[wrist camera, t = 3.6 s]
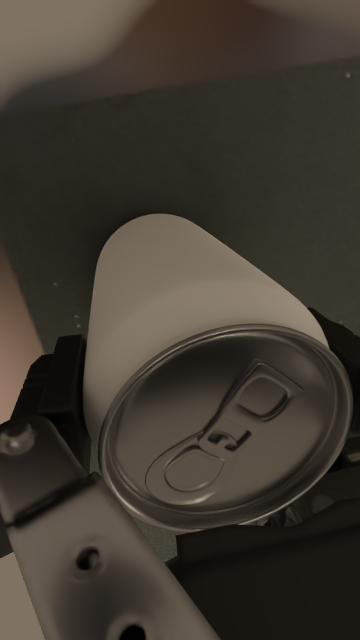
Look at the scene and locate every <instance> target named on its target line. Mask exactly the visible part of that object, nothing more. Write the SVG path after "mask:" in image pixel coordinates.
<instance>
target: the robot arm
mask: <svg viewBox="0 0 360 640" xmlns="http://www.w3.org/2000/svg"><path fill="white" fill-rule="evenodd" d="M307 309H308V310H309V311H310V313H311V314H312V315H313V316H314V317H315V319H316V320H317V322H318V323H319V325H320V327H321V329H322V331H323V333H324V335H325V338H326V340H327V343H328V346H329V349H330V350H331V351H332V352H333V353H334V354H335V355H336V357H337V358H338V359H339V360H340V362H341V363H342V365H343V366H344V368H345V370H346V372H347V374H348V376H349V379H350V382H351V385H352V389H353V396H354V413H353V420H352V425H351V428H350V432H349V435H348V437H347V438H352V437H357V436H360V337H358V336H357V335H354V333H353V332H351V331H350V330H349V329H347V328H346V327H344V326H343V325H340V324H338V323H335V322H332V321H330V320H328V319H327V318H325V317H324V316H323V315H321V314H320V313H319V312H317V311H316V310H314V309H313V308H307ZM86 347H87V343H86V338H85V335H84V334H80V335H71V336H63V337H58V340H57V344H56V347H55V350H54V354H47V355H42V356H41V357H39V358H38V359H37V360H36V361H35V362H34V363H33V364H32V365H31V366H30V369H29V371H28V374H27V379H25V382H24V384H23V389H21V392H20V395H19V397H18V400H17V402H16V405H15V408H14V410H13V413H12V415H11V418H10V420H8V421H7V422H4V423H2V424H1V425H0V558H2V557H4V556H6V555H8V554H10V553H12V552H14V554H15V556H16V559H17V562H18V564H19V568H20V571H21V573H22V576H23V579H24V582H25V584H26V587H27V590H28V593H29V596H30V598H31V601H32V604H33V607H34V609H35V612H36V615H37V618H38V621H39V623H40V626H41V629H42V632H43V635H44V638H45V640H360V497H356V498H351V499H346V500H342V501H337V502H335V503H333V504H331V505H330V506H328V507H326V508H324V509H323V510H321V511H319V512H317V513H316V514H314V515H312V516H310V517H309V518H307V519H305V520H303V521H302V522H300V523H298V524H296V525H294V526H290V527H282V526H261V525H239V524H229V525H224V526H220V527H215V528H210V529H206V530H201V531H196V532H191V533H187V534H182V535H177V536H176V541H177V555H178V556H176V557H174V558H172V559H170V560H169V561H167V562H165V563H164V561H163V560H162V559H161V557H160V556H159V555H158V553H157V552H156V551H155V549H154V548H153V546H152V545H151V544H150V542H149V541H148V540H147V538H146V537H145V536H144V534H143V533H142V531H141V530H140V529H139V527H138V526H137V525H136V523H135V522H134V521H133V519H132V518H131V516H130V515H129V514H128V512H127V511H126V510H125V508H124V507H123V506H122V504H121V503H120V501H119V500H118V499H117V497H116V496H115V495H114V493H113V492H112V491H111V489H110V488H109V486H108V485H107V484H106V482H105V481H104V480H103V478H102V477H101V476H100V475H99V474H98V473H97V472H93V473H91V474H89V471H90V455H91V438H90V435H89V433H88V430H87V427H86V424H85V419H84V413H83V399H82V393H83V376H84V366H85V356H86Z"/></svg>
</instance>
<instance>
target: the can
mask: <svg viewBox="0 0 360 640" xmlns="http://www.w3.org/2000/svg"><path fill="white" fill-rule="evenodd" d="M82 399H83V413H84V419H85V424H86V427H87V430H88V433H89V435H90V438H91V440H92V442H93V444H94V446H95V448H96V449H97V451H98V463H99V468H100V472H101V476H102V478H103V480H104V481H105V482H106V484H107V485H108V486H109V488H110V489H111V491H112V492H113V493H114V495H115V496H116V497H117V499H118V500H119V501H120V503H121V504H122V506H123V507H124V508H125V510H126V511H127V512H129V513H130V514H131V515H133V516H135V517H136V518H138V519H140V520H142V521H144V522H146V523H148V524H151V525H154V526H157V527H160V528H164V529H168V530H174V531H181V532H196V531H201V530H206V529H210V528H215V527H220V526H224V525H229V524H239V525H245V524H248V523H251V522H254V521H257V520H259V519H262V518H264V517H266V516H269V515H271V514H273V513H275V512H277V511H278V510H280V509H282V508H284V507H285V506H287V505H289V504H290V503H292V502H293V501H295V500H296V499H298V498H299V497H300V496H302V495H303V494H304V493H305V492H307V491H308V490H309V489H310V488H311V487H312V486H313V485H315V484H316V483H317V482H318V481H319V480H320V479H321V477H322V476H323V475H324V474H325V473H326V472H327V471H328V469H329V468H330V467H331V466H332V464H333V463H334V461H335V460H336V458H337V457H338V455H339V454H340V452H341V450H342V448H343V446H344V444H345V442H346V440H347V437H348V435H349V432H350V428H351V425H352V420H353V413H354V396H353V389H352V385H351V382H350V379H349V376H348V374H347V372H346V370H345V368H344V366H343V365H342V363H341V362H340V360H339V359H338V358H337V357H336V355H335V354H334V353H333V352H332V351H331V350H330V349H329V346H328V343H327V340H326V338H325V335H324V333H323V331H322V329H321V327H320V325H319V323H318V322H317V320H316V319H315V317H314V316H313V315H312V314H311V313H310V311H309V310H308V309H307V308H306V307H305V306H304V305H303V304H302V303H301V302H300V301H299V300H298V299H297V298H295V297H294V296H293V295H292V294H291V293H289V292H288V291H287V290H286V289H284V288H283V287H282V286H280V285H279V284H278V283H276V282H275V281H274V280H272V279H271V278H270V277H268V276H267V275H266V274H264V273H263V272H262V271H260V270H259V269H257V268H256V267H255V266H253V265H252V264H251V263H249V262H248V261H247V260H245V259H244V258H242V257H241V256H240V255H238V254H237V253H235V252H234V251H233V250H231V249H230V248H229V247H227V246H226V245H224V244H223V243H222V242H220V241H219V240H217V239H216V238H215V237H213V236H212V235H210V234H209V233H208V232H206V231H205V230H203V229H202V228H200V227H199V226H197V225H196V224H194V223H192V222H191V221H189V220H187V219H184V218H182V217H179V216H175V215H170V214H150V215H145V216H141V217H138V218H136V219H133V220H131V221H129V222H128V223H126V224H124V225H123V226H122V227H120V228H119V229H118V230H117V231H116V232H115V233H114V234H113V235H112V236H111V237H110V238H109V239H108V241H107V242H106V244H105V245H104V247H103V249H102V251H101V253H100V256H99V259H98V262H97V267H96V273H95V280H94V288H93V296H92V304H91V312H90V321H89V329H88V338H87V347H86V356H85V366H84V376H83V393H82Z"/></svg>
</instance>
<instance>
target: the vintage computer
mask: <svg viewBox="0 0 360 640" xmlns="http://www.w3.org/2000/svg"><path fill="white" fill-rule="evenodd" d="M356 497H360V436H357V437H352V438H347V440H346V442H345V444H344V446H343V448H342V450H341V452H340V454H339V455H338V457H337V458H336V460H335V461H334V463H333V464H332V466H331V467H330V468H329V469H328V471H327V472H326V473H325V474H324V475H323V476H322V477H321V479H320V480H319V481H318V482H317V483H316V484H315V485H313V486H312V487H311V488H310V489H309V490H308V491H307V492H305V493H304V494H303V495H302V496H300V497H299V498H298V499H296V500H295V501H293V502H292V503H290V504H289V505H287V506H285V507H284V508H282V509H280V510H278V511H277V512H275V513H273V514H271V515H269V516H266V517H264V518H262V519H259V520H257V521H254V522H251V523H248V524H245V525H261V526H282V527H290V526H294V525H296V524H298V523H300V522H302V521H303V520H305V519H307V518H309V517H310V516H312V515H314V514H316V513H317V512H319V511H321V510H323V509H324V508H326V507H328V506H330V505H331V504H333V503H335V502H337V501H342V500H346V499H351V498H356Z"/></svg>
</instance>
